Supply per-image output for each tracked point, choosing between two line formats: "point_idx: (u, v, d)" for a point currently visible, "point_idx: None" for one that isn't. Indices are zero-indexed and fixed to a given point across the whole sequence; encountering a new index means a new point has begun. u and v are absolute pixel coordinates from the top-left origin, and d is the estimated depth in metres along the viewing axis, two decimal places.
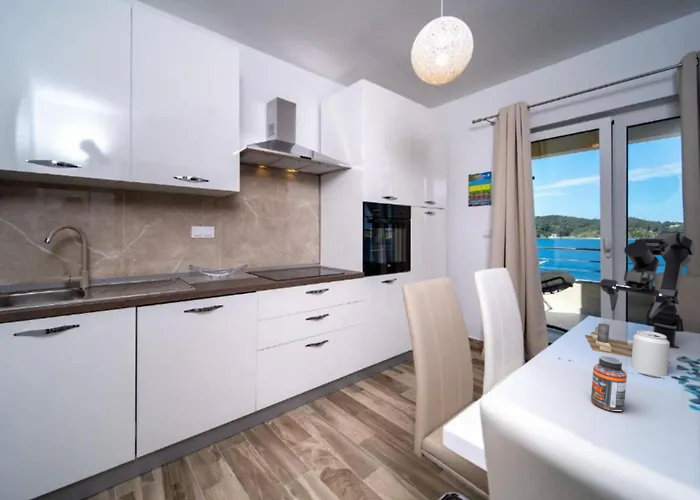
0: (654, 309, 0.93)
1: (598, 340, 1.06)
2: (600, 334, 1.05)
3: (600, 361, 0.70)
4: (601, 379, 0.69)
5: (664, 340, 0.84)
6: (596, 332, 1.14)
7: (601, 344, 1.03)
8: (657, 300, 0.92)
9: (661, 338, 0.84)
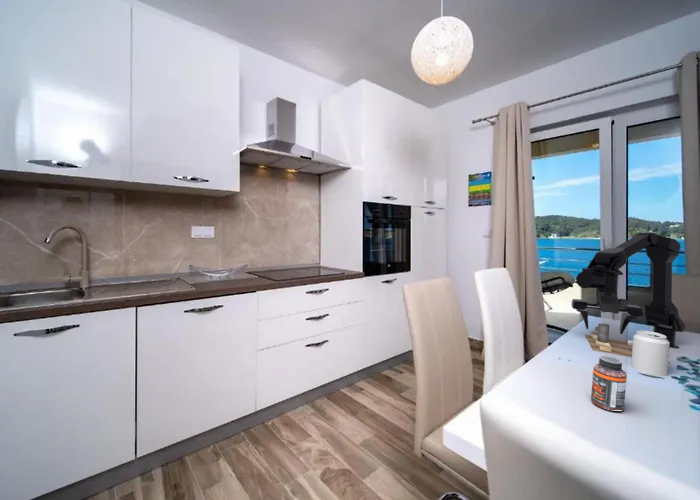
0: (624, 327, 1.02)
1: (598, 340, 1.06)
2: (600, 334, 1.05)
3: (600, 361, 0.70)
4: (601, 379, 0.69)
5: (664, 340, 0.84)
6: (596, 332, 1.14)
7: (601, 344, 1.03)
8: (626, 319, 1.01)
9: (661, 338, 0.84)
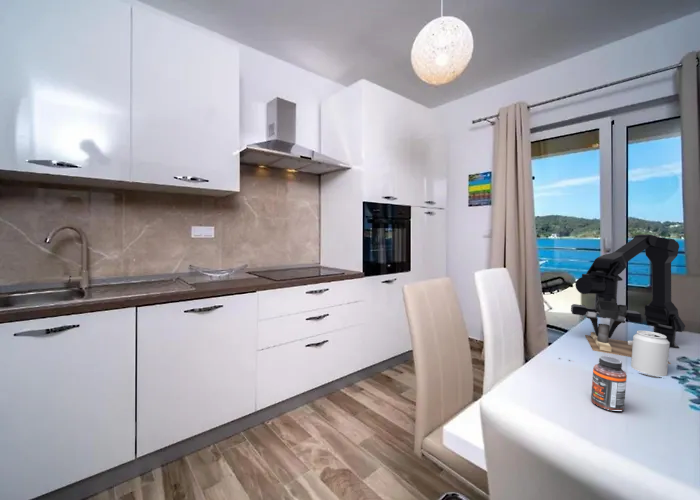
0: (612, 331, 1.04)
1: (598, 340, 1.06)
2: (600, 334, 1.05)
3: (600, 361, 0.70)
4: (601, 379, 0.69)
5: (664, 340, 0.84)
6: None
7: (601, 344, 1.03)
8: (614, 323, 1.03)
9: (661, 338, 0.84)
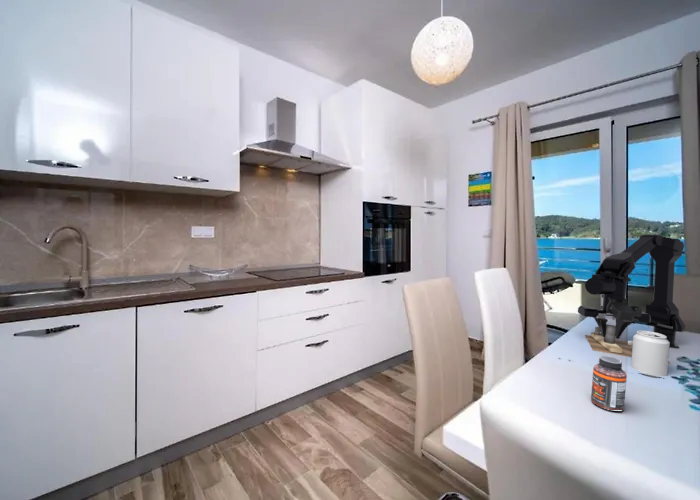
0: (621, 331, 1.03)
1: (605, 341, 1.05)
2: (608, 335, 1.04)
3: (600, 361, 0.70)
4: (601, 379, 0.69)
5: (664, 340, 0.84)
6: (596, 332, 1.14)
7: (611, 346, 1.02)
8: (624, 324, 1.02)
9: (661, 338, 0.84)
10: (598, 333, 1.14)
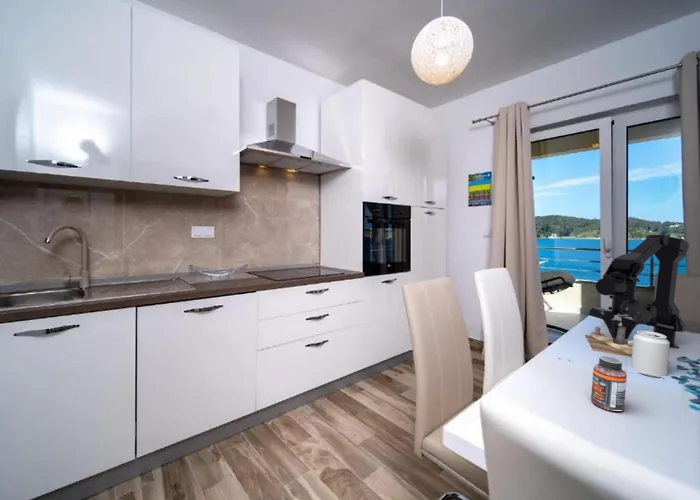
0: (630, 331, 1.03)
1: (616, 342, 1.04)
2: (619, 337, 1.03)
3: (600, 361, 0.70)
4: (601, 379, 0.69)
5: (664, 340, 0.84)
6: (597, 332, 1.14)
7: (625, 347, 1.01)
8: (634, 324, 1.02)
9: (661, 338, 0.84)
10: (599, 333, 1.14)
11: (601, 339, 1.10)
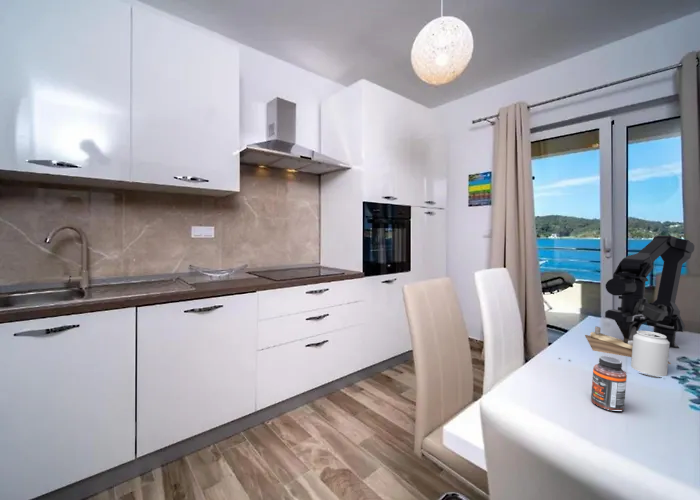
0: (637, 330, 1.05)
1: None
2: (632, 337, 1.03)
3: (600, 361, 0.70)
4: (601, 379, 0.69)
5: (664, 340, 0.84)
6: (598, 332, 1.14)
7: None
8: (641, 323, 1.04)
9: (661, 338, 0.84)
10: (599, 333, 1.14)
11: (607, 339, 1.10)
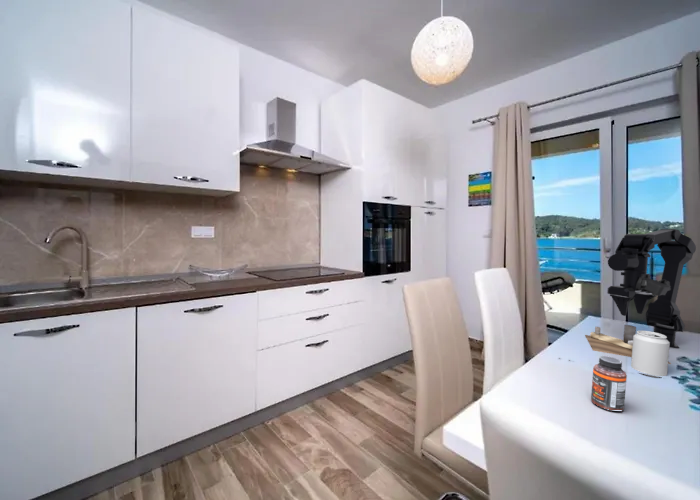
0: (645, 306, 1.05)
1: None
2: (632, 337, 1.03)
3: (600, 361, 0.70)
4: (601, 379, 0.69)
5: (664, 340, 0.84)
6: (598, 332, 1.14)
7: None
8: (648, 298, 1.05)
9: (661, 338, 0.84)
10: (599, 333, 1.14)
11: (607, 339, 1.10)
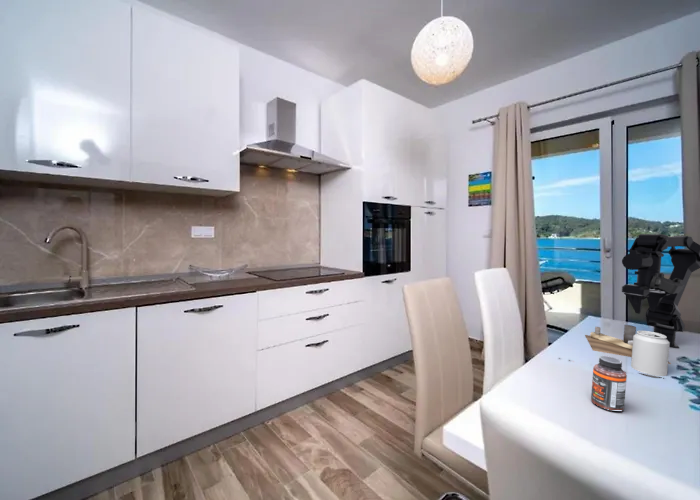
0: (658, 304, 1.08)
1: None
2: (632, 337, 1.03)
3: (600, 361, 0.70)
4: (601, 379, 0.69)
5: (664, 340, 0.84)
6: (598, 332, 1.14)
7: None
8: (661, 297, 1.07)
9: (661, 338, 0.84)
10: (599, 333, 1.14)
11: (607, 339, 1.10)
